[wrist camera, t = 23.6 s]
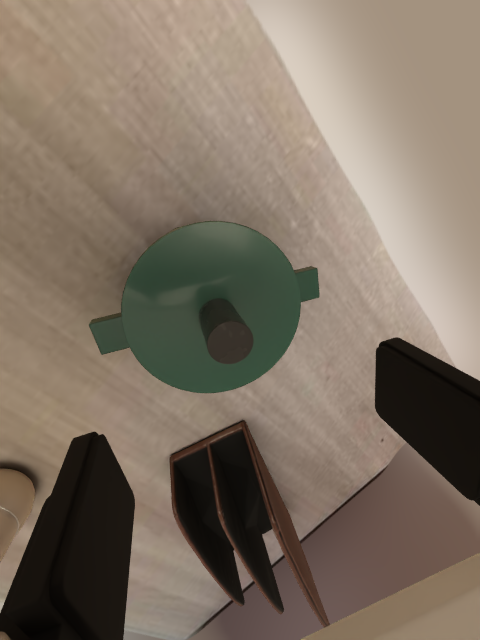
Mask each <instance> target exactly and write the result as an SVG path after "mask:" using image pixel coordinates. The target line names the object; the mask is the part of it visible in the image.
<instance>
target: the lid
mask: <svg viewBox="0 0 480 640" xmlns="http://www.w3.org/2000/svg"><path fill="white" fill-rule="evenodd" d="M300 308H301V300H300V290H299V284H298V281H297V278H296V275H295V272H294V270H293V268H292V266H291V264H290V262H289V261H288V259H287V258H286V256H285V255H284V253H283V252H282V251H281V250H280V249H279V248H278V247H277V246H276V245H275V244H274V243H273V242H272V241H271V240H270V239H268V238H267V237H265V236H264V235H262V234H261V233H259V232H257V231H255V230H253V229H251V228H248V227H246V226H242V225H239V224H236V223H230V222H223V221H205V222H198V223H193V224H189V225H186V226H182V227H180V228H178V229H176V230H173V231H171V232H169V233H168V234H166V235H164V236H163V237H161V238H159V239H158V240H157V241H156V242H155V243H153V244H152V245H151V246H150V247H149V248H148V249H147V250H146V251H145V252H144V253H143V254H142V256H141V257H140V258H139V260H138V261H137V263H136V264H135V266H134V267H133V269H132V271H131V273H130V275H129V277H128V279H127V282H126V285H125V288H124V291H123V297H122V303H121V319H122V326H123V330H124V334H125V337H126V340H127V342H128V345H129V347H130V349H131V351H132V352H133V354H134V355H135V357H136V358H137V360H138V361H139V362H140V363H141V365H142V366H143V367H144V368H145V369H146V370H147V371H149V372H150V373H151V374H152V375H153V376H155V377H156V378H158V379H159V380H161V381H162V382H164V383H166V384H168V385H170V386H173V387H175V388H178V389H181V390H185V391H190V392H197V393H217V392H224V391H228V390H233V389H236V388H239V387H241V386H244V385H246V384H248V383H250V382H252V381H254V380H256V379H257V378H259V377H260V376H262V375H263V374H265V373H266V372H267V371H268V370H270V369H271V368H272V367H273V366H274V365H275V364H276V363H277V362H278V361H279V359H280V358H281V357H282V356H283V354H284V353H285V352H286V350H287V348H288V347H289V345H290V343H291V341H292V339H293V337H294V335H295V332H296V329H297V326H298V322H299V317H300Z"/></svg>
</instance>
